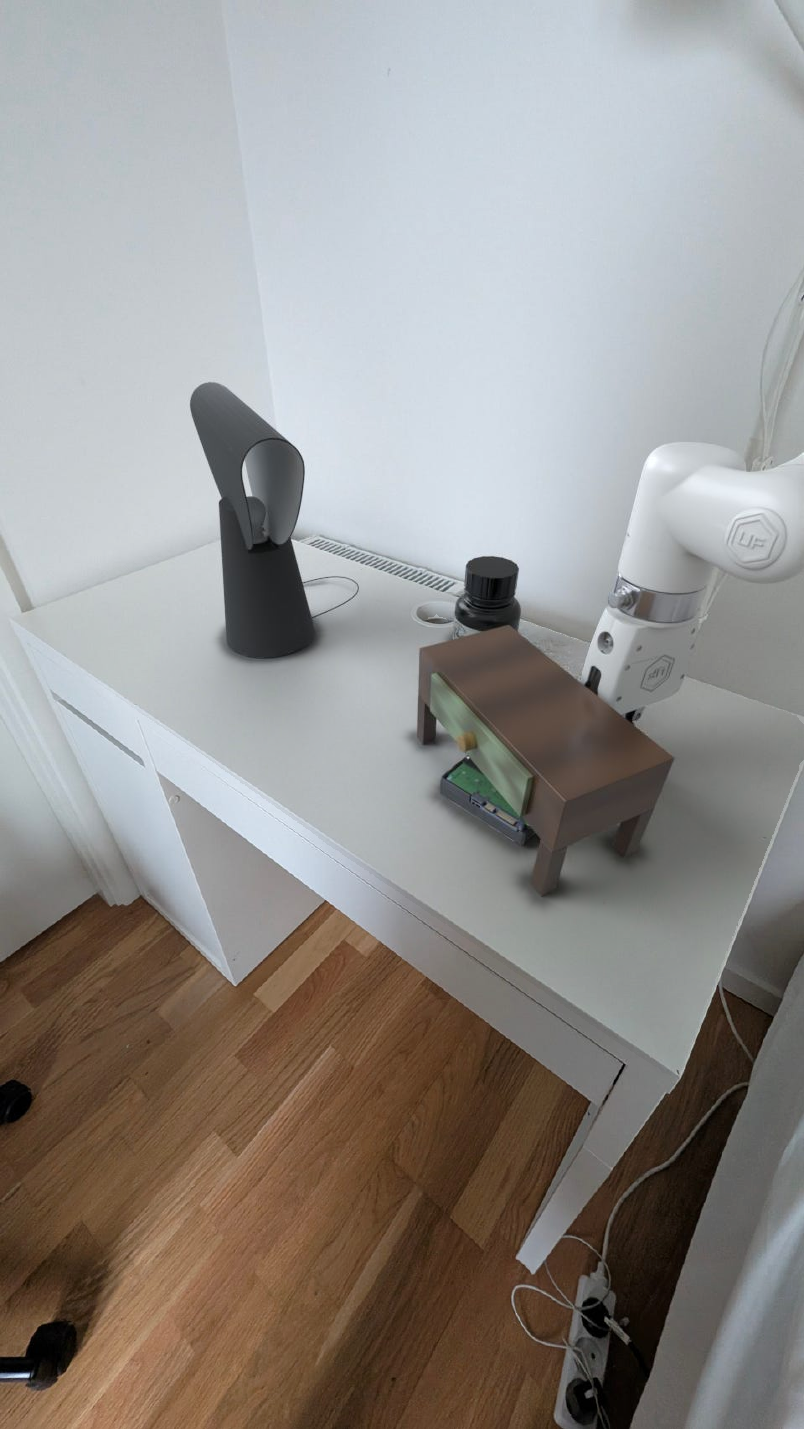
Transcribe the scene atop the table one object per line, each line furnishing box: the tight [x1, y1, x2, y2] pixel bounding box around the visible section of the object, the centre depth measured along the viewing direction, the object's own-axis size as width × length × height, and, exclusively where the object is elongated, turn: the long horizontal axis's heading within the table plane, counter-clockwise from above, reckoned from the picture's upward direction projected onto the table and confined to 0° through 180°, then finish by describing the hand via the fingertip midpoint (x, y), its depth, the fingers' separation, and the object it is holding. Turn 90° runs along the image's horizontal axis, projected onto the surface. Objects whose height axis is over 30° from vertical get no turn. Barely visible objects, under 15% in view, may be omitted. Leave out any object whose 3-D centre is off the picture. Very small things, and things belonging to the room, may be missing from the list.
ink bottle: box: [452, 555, 522, 640], centre depth 78 cm, size 10×9×12 cm
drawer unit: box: [416, 625, 675, 897], centre depth 56 cm, size 24×13×12 cm, turn 26°
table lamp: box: [189, 381, 360, 659], centre depth 80 cm, size 40×28×30 cm
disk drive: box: [439, 754, 536, 846], centre depth 60 cm, size 10×3×15 cm
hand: (609, 744), depth 64 cm, fingers closed
